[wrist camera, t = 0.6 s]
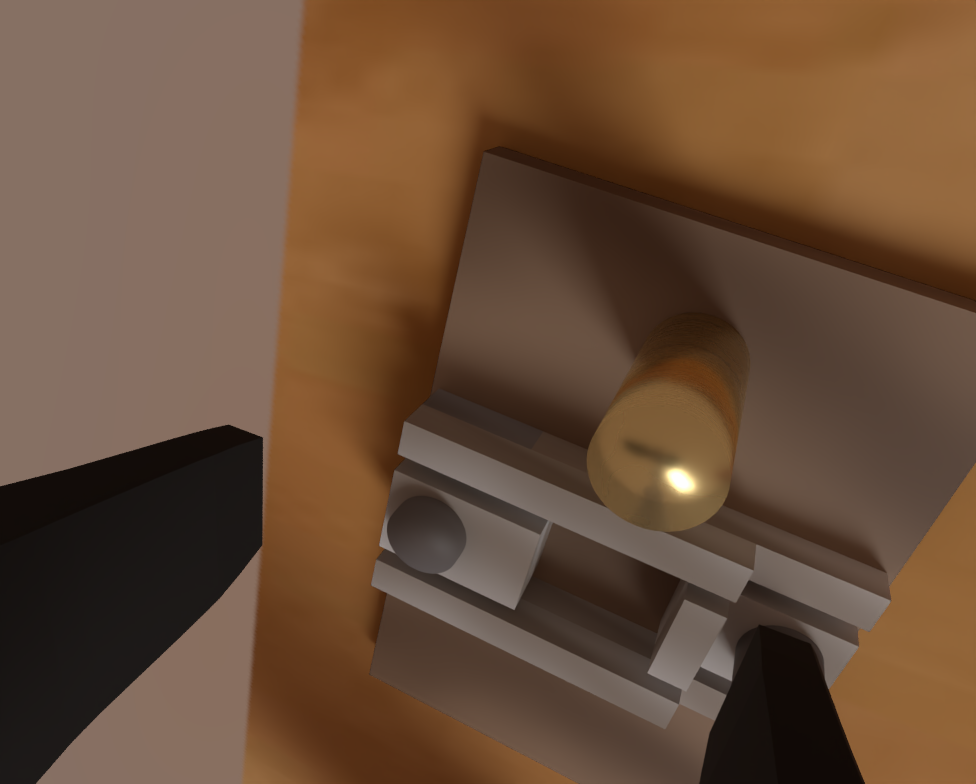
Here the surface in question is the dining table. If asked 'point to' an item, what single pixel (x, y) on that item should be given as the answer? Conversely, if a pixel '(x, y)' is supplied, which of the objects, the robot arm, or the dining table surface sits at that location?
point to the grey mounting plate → (617, 543)
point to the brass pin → (673, 426)
